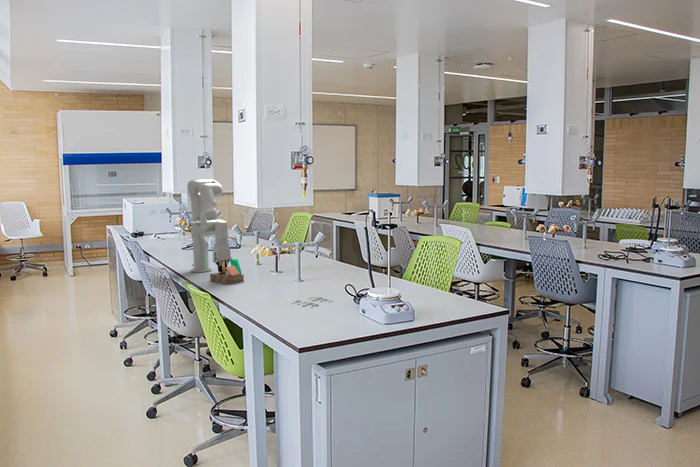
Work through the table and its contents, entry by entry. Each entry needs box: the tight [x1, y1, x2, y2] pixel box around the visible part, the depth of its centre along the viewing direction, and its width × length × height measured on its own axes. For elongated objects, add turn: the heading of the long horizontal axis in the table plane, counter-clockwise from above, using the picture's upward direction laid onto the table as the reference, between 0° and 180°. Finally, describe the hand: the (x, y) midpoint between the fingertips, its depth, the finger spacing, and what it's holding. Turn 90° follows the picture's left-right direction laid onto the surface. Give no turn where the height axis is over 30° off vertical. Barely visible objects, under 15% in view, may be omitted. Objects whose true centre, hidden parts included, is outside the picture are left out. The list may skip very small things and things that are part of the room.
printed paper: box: [275, 295, 334, 308], centre depth 290 cm, size 30×30×2 cm
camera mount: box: [229, 257, 242, 274], centre depth 361 cm, size 12×8×10 cm, turn 40°
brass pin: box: [220, 260, 225, 274], centre depth 344 cm, size 3×3×12 cm
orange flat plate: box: [225, 265, 240, 276], centre depth 338 cm, size 7×6×1 cm
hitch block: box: [209, 271, 245, 285], centre depth 342 cm, size 17×12×5 cm
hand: (222, 271), depth 345 cm, fingers closed on brass pin, 3 cm apart
